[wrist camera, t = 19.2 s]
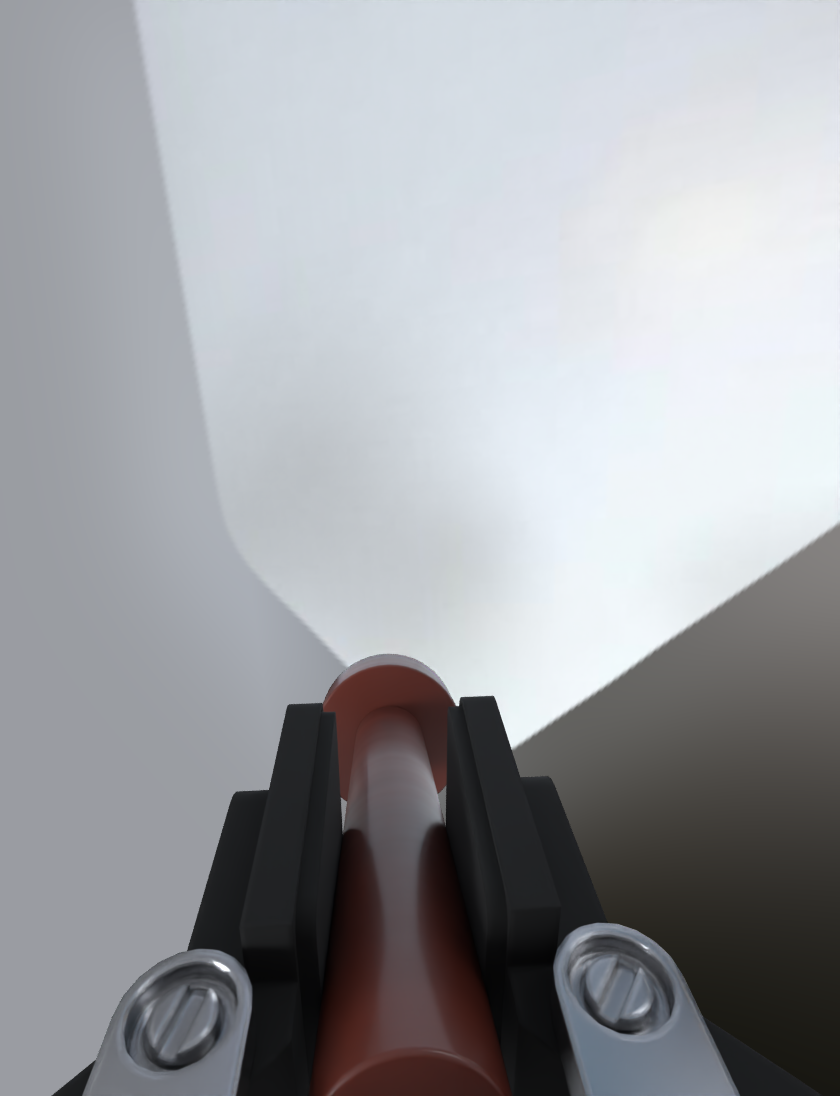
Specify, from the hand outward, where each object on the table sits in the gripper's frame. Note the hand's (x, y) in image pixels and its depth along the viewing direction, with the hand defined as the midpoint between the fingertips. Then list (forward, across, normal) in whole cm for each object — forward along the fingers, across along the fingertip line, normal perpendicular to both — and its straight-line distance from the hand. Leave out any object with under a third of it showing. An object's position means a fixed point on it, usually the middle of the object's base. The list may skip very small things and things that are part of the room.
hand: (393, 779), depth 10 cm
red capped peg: (+8, 0, +4) cm, 9 cm away
